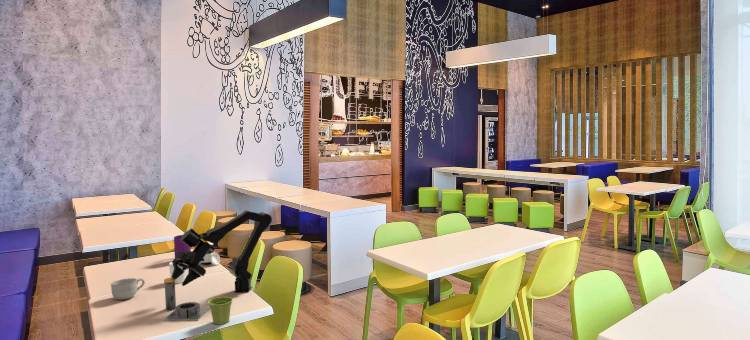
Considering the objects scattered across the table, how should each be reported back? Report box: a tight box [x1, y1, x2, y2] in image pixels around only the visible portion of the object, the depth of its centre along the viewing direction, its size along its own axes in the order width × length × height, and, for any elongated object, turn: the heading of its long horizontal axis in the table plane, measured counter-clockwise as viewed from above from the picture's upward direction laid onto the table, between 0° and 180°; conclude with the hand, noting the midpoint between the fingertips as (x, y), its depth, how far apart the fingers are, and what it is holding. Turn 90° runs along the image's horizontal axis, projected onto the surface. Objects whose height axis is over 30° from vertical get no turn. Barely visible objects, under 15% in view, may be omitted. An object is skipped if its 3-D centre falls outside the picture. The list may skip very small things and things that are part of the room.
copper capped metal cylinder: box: [163, 277, 177, 311], centre depth 203 cm, size 4×4×13 cm
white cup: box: [168, 261, 187, 284], centre depth 241 cm, size 8×8×10 cm
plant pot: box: [207, 296, 234, 325], centre depth 188 cm, size 9×9×9 cm
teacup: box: [110, 277, 146, 301], centre depth 219 cm, size 14×11×8 cm
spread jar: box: [199, 242, 221, 266], centre depth 274 cm, size 12×11×12 cm
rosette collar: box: [162, 301, 211, 322], centre depth 197 cm, size 14×14×4 cm
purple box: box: [173, 234, 192, 260], centre depth 284 cm, size 9×16×15 cm, turn 34°
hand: (176, 283), depth 205 cm, fingers open, 9 cm apart
